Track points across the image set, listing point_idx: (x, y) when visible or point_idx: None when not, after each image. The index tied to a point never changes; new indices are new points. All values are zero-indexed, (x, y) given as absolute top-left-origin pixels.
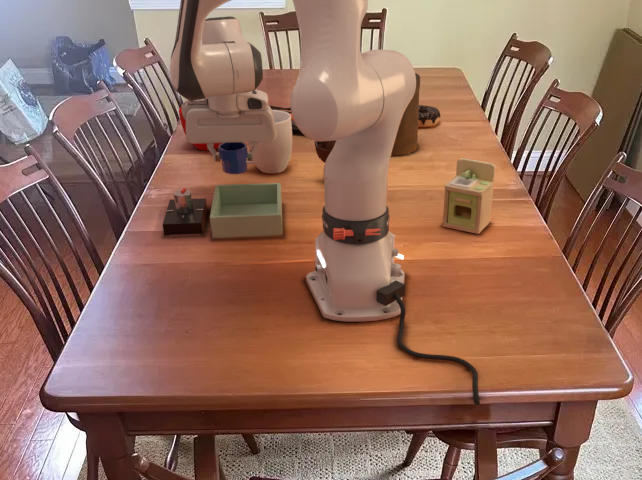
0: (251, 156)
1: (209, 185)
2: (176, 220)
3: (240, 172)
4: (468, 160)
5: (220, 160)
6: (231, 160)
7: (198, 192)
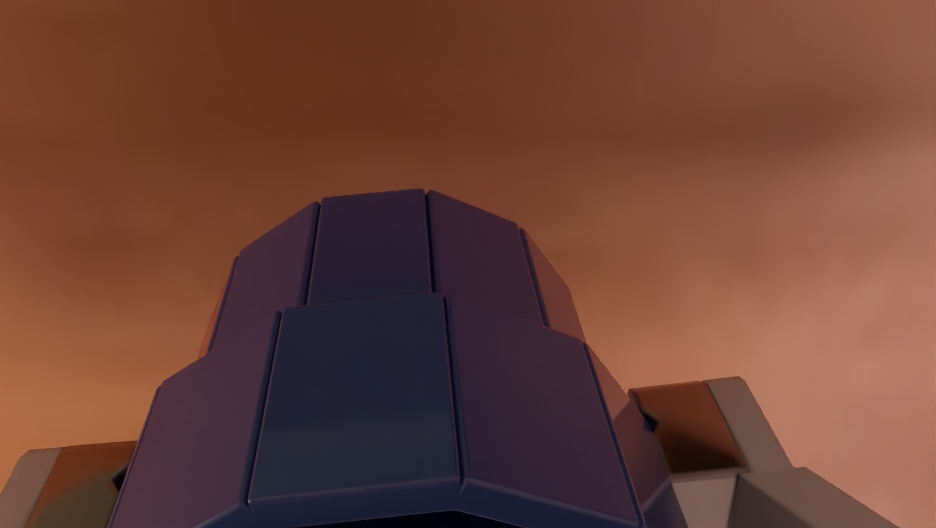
0: (32, 505)
1: (687, 320)
2: None
3: (279, 232)
4: None
5: None
6: (397, 312)
7: (807, 165)
